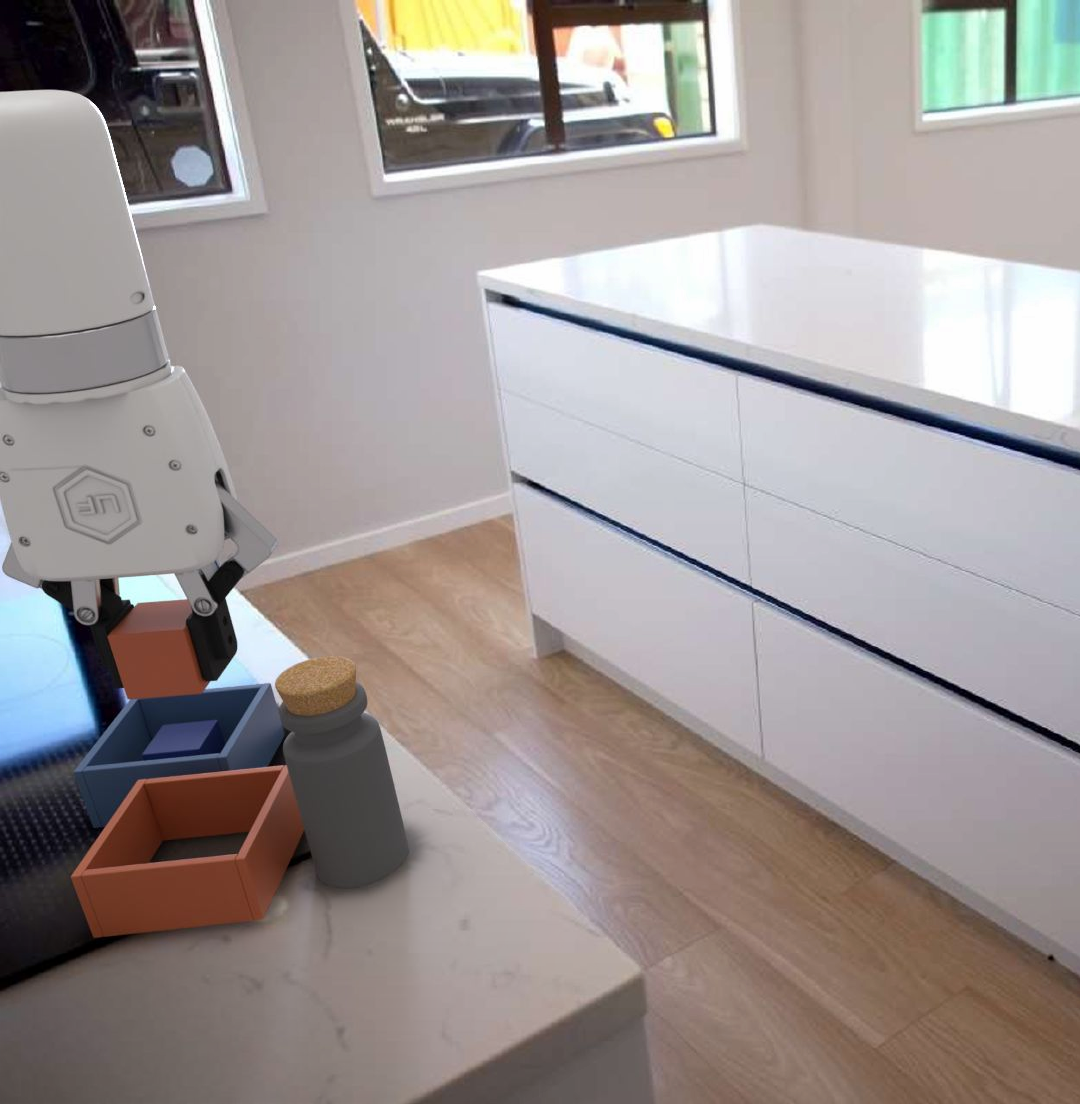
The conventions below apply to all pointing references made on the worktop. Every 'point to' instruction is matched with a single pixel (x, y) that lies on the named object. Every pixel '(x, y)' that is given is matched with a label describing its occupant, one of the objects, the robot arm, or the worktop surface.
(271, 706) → the blue bin
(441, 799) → the worktop surface
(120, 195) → the robot arm
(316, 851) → the bottle
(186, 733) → the navy block
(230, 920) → the terracotta bin
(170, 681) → the terracotta block
